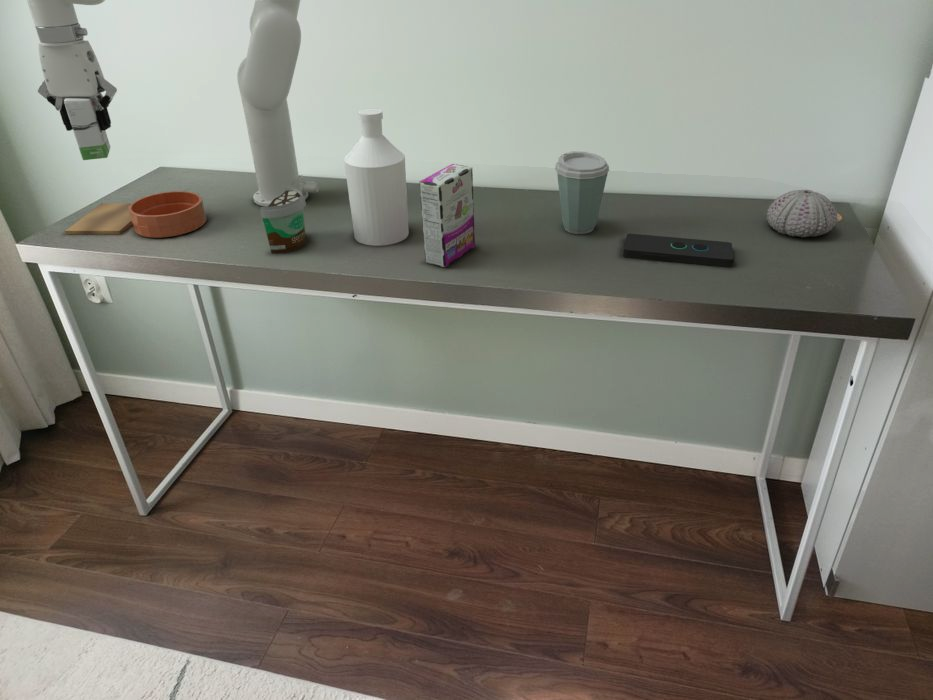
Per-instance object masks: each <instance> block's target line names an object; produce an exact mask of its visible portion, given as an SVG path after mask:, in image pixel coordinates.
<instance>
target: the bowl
mask: <svg viewBox="0 0 933 700" xmlns="http://www.w3.org/2000/svg"><path fill="white" fill-rule="evenodd" d="M131 203H132V204H131V205H130V206H129V208H128V211H129V214H130V217H131V221H132V227H133V230H134V231H135V233H136V234H137V235H139V236H141V237H145V238H151V239H152V238H156V239H157V238H159V239H160V238H169V237H176V236H180V235H185V234H188V233H191V232H193V231H196V230H198V229H199V228H201V227H202V226H204V225H205V224H206V222H207V220H208V219H207V213H206V210H205V204H204V201H203V197H202V196H201V195H200V194H199V193H196V192H194V191H187V190H186V191H185V190H173V191H162V192H158V193H153V194H149V195H146V196H143V197H141V198H139V199H136V200H135V201H133V202H131Z"/></svg>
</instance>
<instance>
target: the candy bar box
mask: <svg viewBox="0 0 933 700" xmlns="http://www.w3.org/2000/svg"><path fill="white" fill-rule="evenodd" d="M473 176H474V175H473V166H468V165H463V164H458V163H451V164H449V165H447V166H446V167H444V168H442V169H439V170H438V171H436V172H433V173H432V174H431V175H429V176H427V177H425V178H424V179H421V180H419V182H418V183H419V195H420V210H421V219H422V234H423V245H424V247H423V248H424V260H425V261H424V262H425V263H426V264H429V265H432V266H437V267H440V268H447V267H448V266H450V265H451V264H453V263H454V262H455V261H457V260H458V259H461V257H462V256H463V255H465V254H467V253H468V252H469V251H471V250H472V249H473V248H475V247H476V240H475V238H476V237H475V235H476V234H475V209H474V207H475V206H474V179H473V178H474V177H473Z"/></svg>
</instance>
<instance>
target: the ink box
mask: <svg viewBox="0 0 933 700" xmlns="http://www.w3.org/2000/svg"><path fill="white" fill-rule="evenodd" d="M64 101H65V102H64V104H65V107H66V110H67V113H68V116H69V119H70V122H71V125H72V128H73V129H72V131H73V134H74V137H75V141H76V143H77V144H76V145H77V146H78V149H79V152H80V153H79V154H80V155H81V159H82V160H83V161H90V160H100V159H107V158H108V157H109V154H110V151H111V145H110V141H109V138H108V134H107V130H105V131H102V130H101V129H100V126H99V123H98V120H97V116H96V113H95V111H96V110H97V108H96V106H95V105H94V104H93V102H92V101H91V99H90V98H89V97H66V98H65V100H64Z"/></svg>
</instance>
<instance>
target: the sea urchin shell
mask: <svg viewBox="0 0 933 700" xmlns="http://www.w3.org/2000/svg"><path fill="white" fill-rule="evenodd" d="M766 211H767V213H766V221H767V222H768V224H769V225H770V227H771V228H772V229H773V230H775V231H777V232H778V233H780V234H783V235H788V236H789V237H800V238H808V237H811V238H814V237H820V236H822V235H826V234H827V233H829V232H830V231H832V230H833V228H835V227H836V224H837V223H838V221H837V219H838V211H837V210H836V207H835V205H834V204H833V203H832V201H831V200H830V199H829V198H828V197H827V196H825V195H824V194H822V193H819V192H817V191H813V190H811V189H795V190H790V191H788V192H785V193H783V194H781V195H779V196H778V197H777V198H775V200H773V202H771V203H770V205H769V206H768V209H767V210H766Z"/></svg>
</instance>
